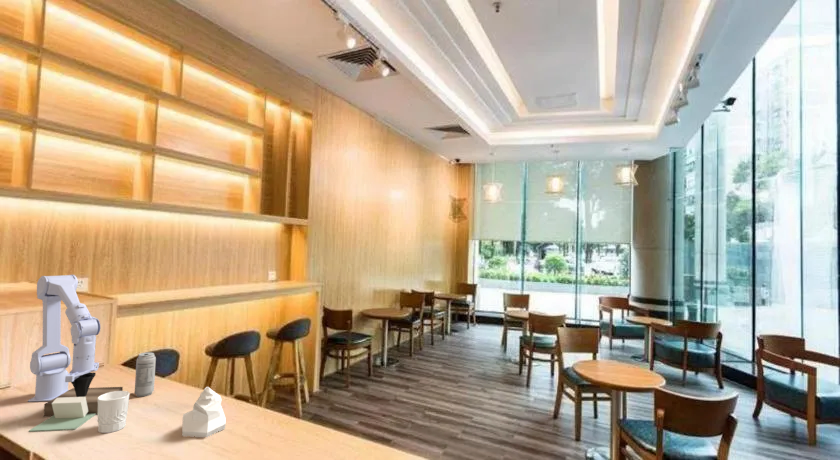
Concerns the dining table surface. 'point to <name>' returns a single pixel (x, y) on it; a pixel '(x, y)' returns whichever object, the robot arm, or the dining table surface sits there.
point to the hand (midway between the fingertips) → (81, 396)
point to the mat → (61, 423)
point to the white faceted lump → (204, 416)
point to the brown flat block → (90, 399)
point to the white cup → (112, 411)
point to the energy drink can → (145, 374)
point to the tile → (70, 407)
